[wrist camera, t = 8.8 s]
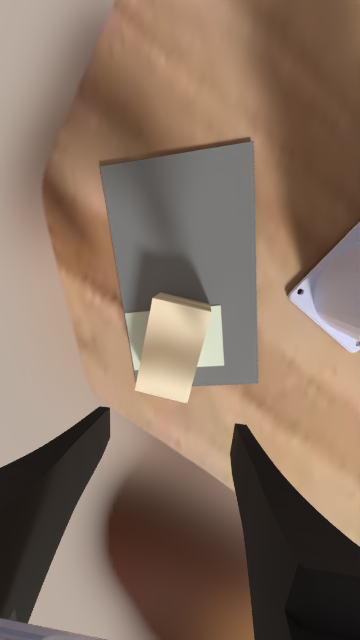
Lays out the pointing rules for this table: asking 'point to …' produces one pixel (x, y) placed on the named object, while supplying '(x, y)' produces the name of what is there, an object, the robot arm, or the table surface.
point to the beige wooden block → (172, 346)
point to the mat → (190, 249)
